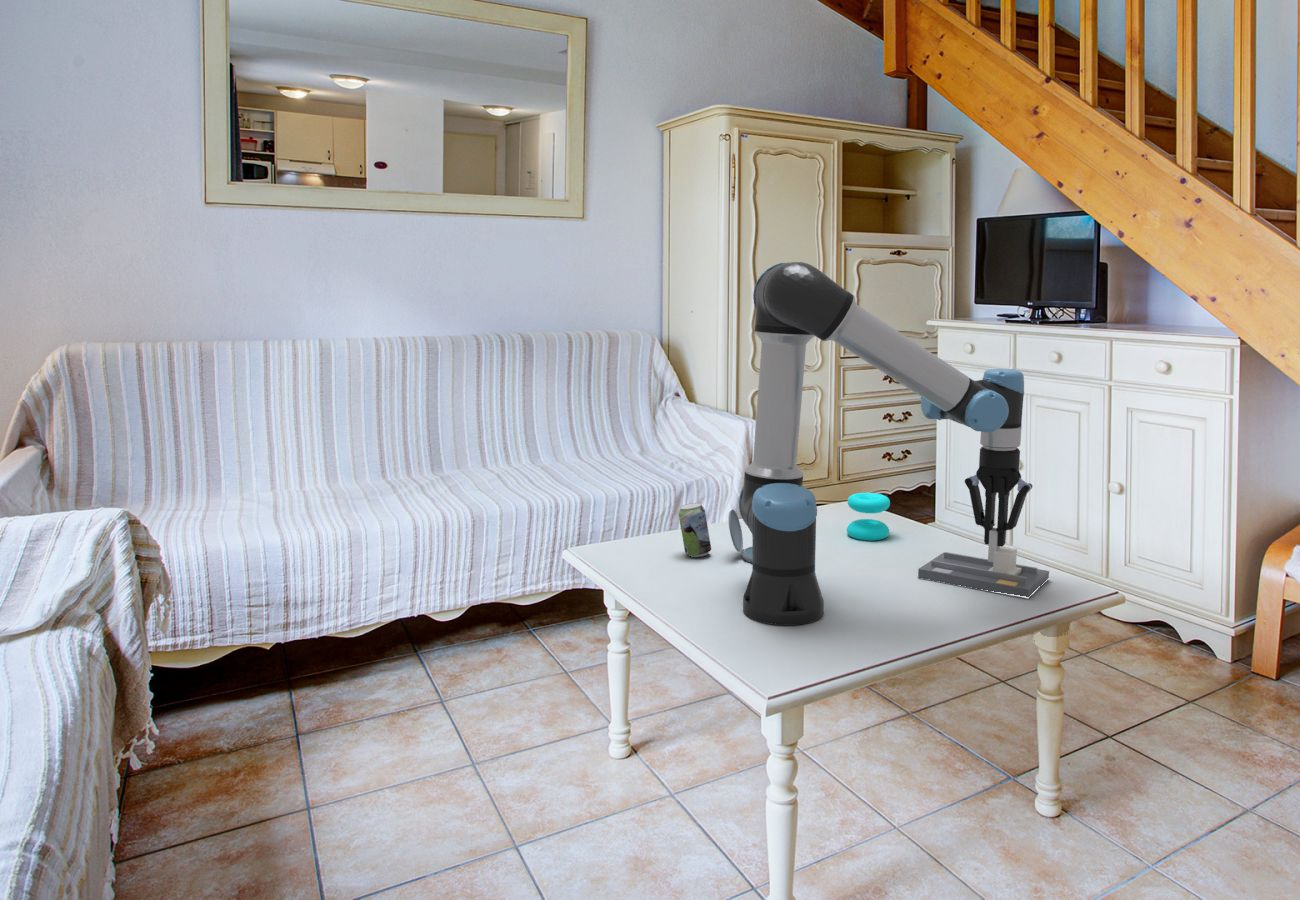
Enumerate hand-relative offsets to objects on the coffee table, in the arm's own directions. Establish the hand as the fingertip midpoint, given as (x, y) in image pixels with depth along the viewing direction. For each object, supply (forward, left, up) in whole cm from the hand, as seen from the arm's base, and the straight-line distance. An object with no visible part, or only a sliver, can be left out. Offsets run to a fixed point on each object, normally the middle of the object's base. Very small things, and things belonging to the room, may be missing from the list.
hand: (993, 560), depth 184 cm
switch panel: (0, +2, -4) cm, 5 cm away
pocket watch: (-14, +46, -5) cm, 49 cm away
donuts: (+16, +35, -5) cm, 39 cm away
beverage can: (-21, +60, -5) cm, 64 cm away
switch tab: (0, -2, -2) cm, 3 cm away
